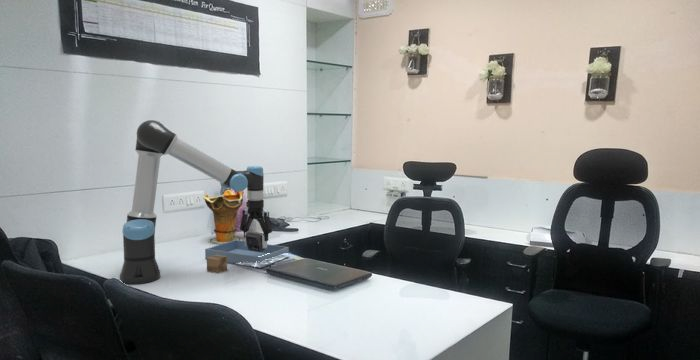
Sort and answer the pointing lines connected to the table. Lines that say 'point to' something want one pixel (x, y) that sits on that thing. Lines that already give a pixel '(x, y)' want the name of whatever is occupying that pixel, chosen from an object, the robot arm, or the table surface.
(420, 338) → the table surface
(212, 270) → the walnut cube
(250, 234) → the electrical switch
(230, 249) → the tray
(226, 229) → the decorative vase
